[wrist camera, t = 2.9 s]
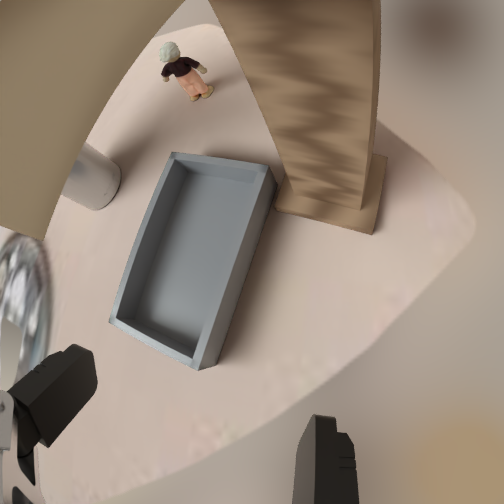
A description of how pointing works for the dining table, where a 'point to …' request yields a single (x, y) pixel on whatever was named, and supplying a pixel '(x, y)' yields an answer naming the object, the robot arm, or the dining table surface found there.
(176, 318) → the tote
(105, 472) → the dining table surface
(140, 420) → the dining table surface
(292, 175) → the brown tall square column
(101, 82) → the mallet
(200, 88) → the grandmother figurine
